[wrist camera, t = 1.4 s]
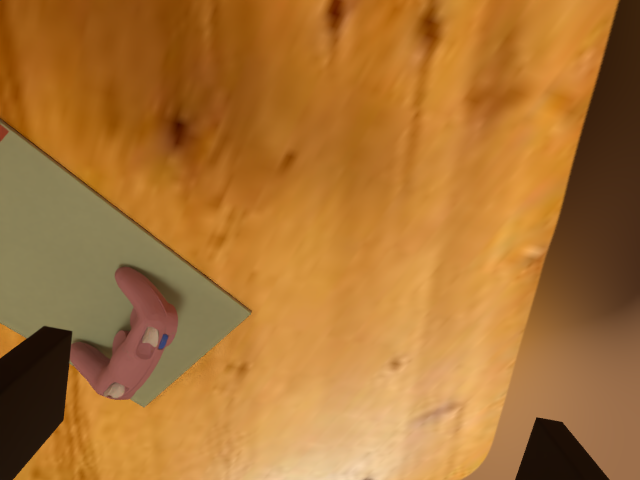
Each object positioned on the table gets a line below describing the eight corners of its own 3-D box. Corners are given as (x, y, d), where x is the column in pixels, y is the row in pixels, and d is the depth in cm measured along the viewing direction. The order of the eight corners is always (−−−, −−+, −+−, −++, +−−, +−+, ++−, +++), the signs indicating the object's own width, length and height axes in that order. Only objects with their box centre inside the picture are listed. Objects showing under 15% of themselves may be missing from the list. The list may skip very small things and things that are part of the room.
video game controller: (115, 351, 44) (135, 418, 40) (62, 348, 41) (76, 420, 37) (170, 268, 41) (197, 331, 37) (116, 258, 38) (139, 325, 34)
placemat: (-289, 148, 32) (-295, 150, 32) (-179, -19, 29) (-184, -19, 29) (144, 404, 46) (144, 407, 46) (251, 311, 43) (251, 313, 43)
